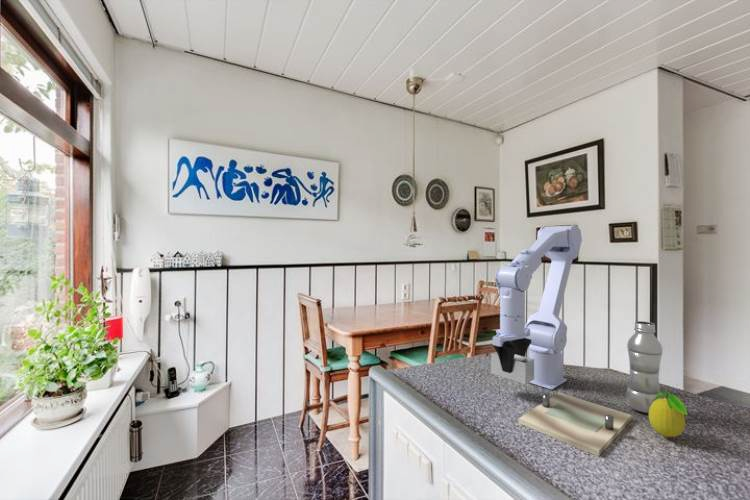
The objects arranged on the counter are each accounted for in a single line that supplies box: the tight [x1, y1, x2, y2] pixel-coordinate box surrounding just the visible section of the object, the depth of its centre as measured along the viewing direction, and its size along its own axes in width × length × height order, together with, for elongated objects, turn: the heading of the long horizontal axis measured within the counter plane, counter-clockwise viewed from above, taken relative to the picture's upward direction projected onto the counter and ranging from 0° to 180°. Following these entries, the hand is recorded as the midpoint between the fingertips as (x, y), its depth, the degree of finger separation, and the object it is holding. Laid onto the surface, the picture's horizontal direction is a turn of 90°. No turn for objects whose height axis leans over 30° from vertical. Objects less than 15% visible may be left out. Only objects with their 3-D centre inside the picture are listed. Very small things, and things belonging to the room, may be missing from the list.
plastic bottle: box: [625, 320, 663, 414], centre depth 79 cm, size 6×7×20 cm
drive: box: [490, 351, 534, 385], centre depth 86 cm, size 4×9×5 cm, turn 40°
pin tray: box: [518, 391, 633, 457], centre depth 74 cm, size 20×15×4 cm
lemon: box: [648, 386, 689, 438], centre depth 68 cm, size 7×6×10 cm
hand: (512, 369), depth 86 cm, fingers closed on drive, 4 cm apart
